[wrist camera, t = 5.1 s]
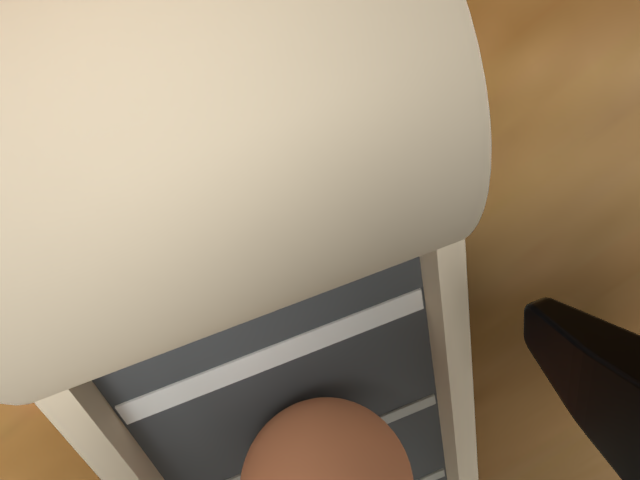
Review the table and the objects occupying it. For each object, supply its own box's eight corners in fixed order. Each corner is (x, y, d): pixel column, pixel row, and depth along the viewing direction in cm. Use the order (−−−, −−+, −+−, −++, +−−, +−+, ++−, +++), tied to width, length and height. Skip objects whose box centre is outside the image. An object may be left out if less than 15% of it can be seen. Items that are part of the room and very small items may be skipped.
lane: (338, -148, 13) (553, -169, 7) (429, 447, 29) (518, 611, 22) (-140, -18, 12) (-448, 112, 5) (229, 532, 27) (264, 733, 21)
